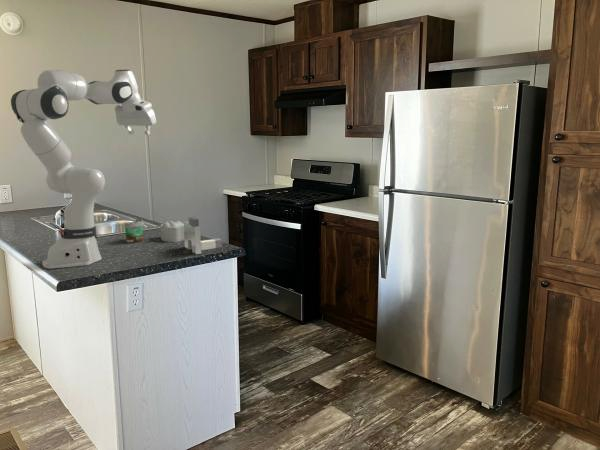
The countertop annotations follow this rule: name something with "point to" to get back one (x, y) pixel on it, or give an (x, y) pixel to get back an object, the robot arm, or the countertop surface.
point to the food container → (134, 231)
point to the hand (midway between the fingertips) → (139, 134)
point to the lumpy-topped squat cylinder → (172, 231)
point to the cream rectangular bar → (211, 244)
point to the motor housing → (192, 235)
